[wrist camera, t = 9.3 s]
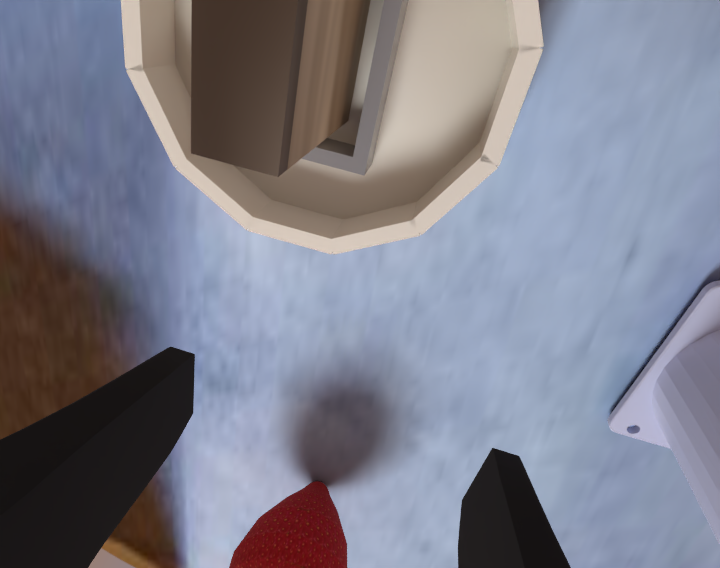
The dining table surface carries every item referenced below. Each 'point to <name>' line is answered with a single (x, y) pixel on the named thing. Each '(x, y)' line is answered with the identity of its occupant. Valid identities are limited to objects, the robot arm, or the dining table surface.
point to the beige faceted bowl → (362, 119)
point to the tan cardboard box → (271, 77)
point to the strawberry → (296, 534)
